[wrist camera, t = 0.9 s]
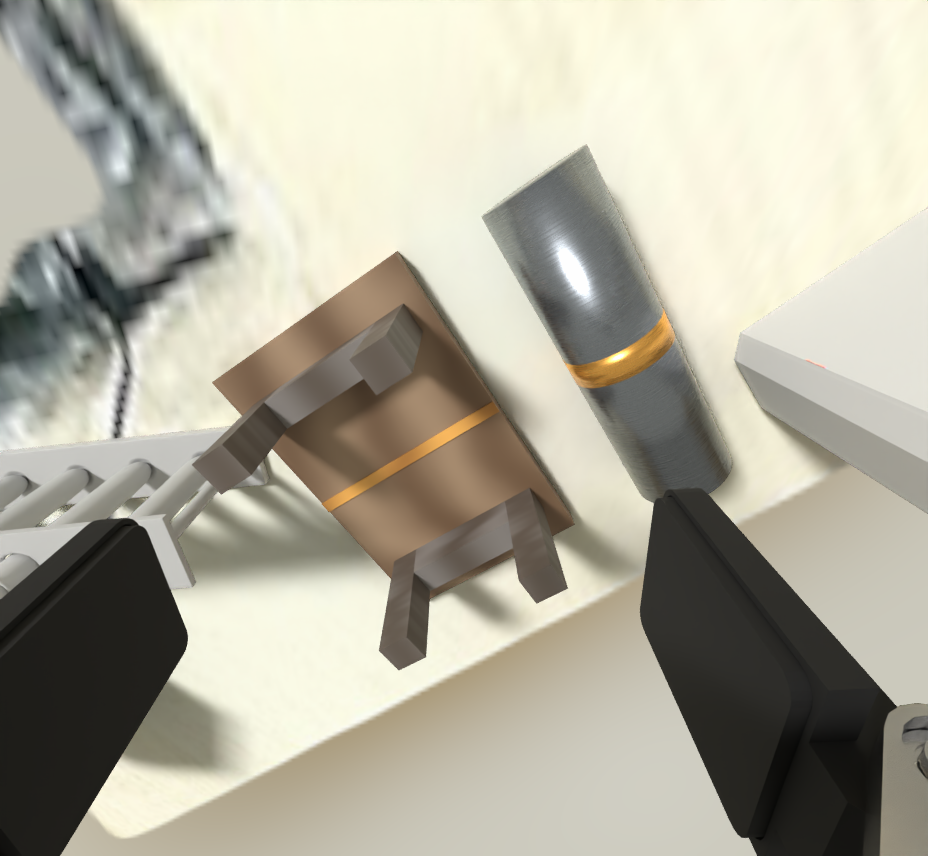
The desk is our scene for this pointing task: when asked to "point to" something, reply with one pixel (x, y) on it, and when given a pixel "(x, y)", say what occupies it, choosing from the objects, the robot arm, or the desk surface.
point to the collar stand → (395, 448)
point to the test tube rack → (104, 496)
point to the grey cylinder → (609, 326)
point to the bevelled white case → (855, 361)
